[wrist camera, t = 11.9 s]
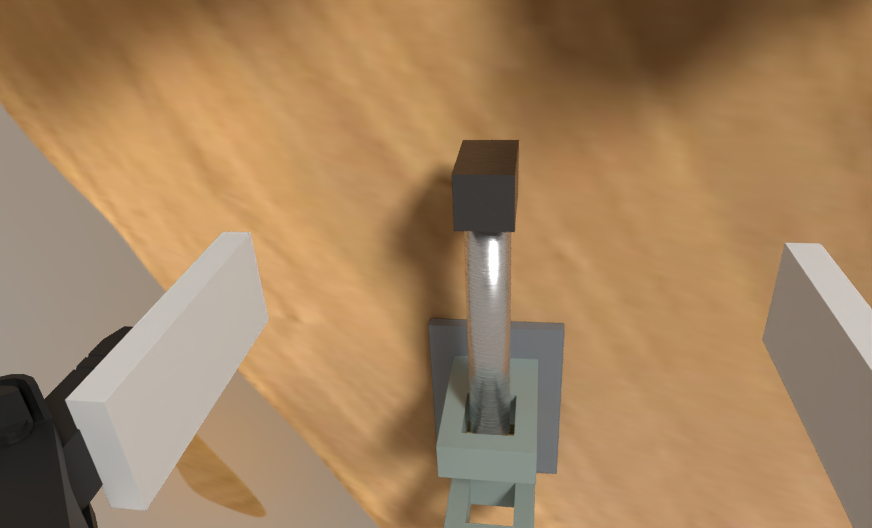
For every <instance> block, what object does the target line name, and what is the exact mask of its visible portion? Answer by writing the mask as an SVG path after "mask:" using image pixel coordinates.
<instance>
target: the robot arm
mask: <svg viewBox="0 0 872 528" xmlns="http://www.w3.org/2000/svg"><path fill="white" fill-rule="evenodd" d="M268 320H269V318H268V313H267V309H266V304H265V299H264V294H263V290H262V285H261V280H260V275H259V271H258V266H257V261H256V256H255V252H254V247H253V242H252V237H251V233H250V232H222V233H221V234H220V235H219V237H218V238H217V239H216V240H215V241H214V242H213V243H212V244H211V245H210V246H209V247H208V248H207V249H206V250H205V251H204V252H203V254H202V255H201V256H200V257H199V258H198V259H197V260H196V261H195V262H194V263H193V264H192V265H191V266H190V267H189V268H188V270H187V271H186V272H185V273H184V274H183V275H182V276H181V277H180V278H179V279H178V280H177V281H176V282H175V283H174V284H173V286H172V287H171V288H170V289H169V290H168V291H167V292H166V293H165V294H164V295H163V296H162V297H161V298H160V299H159V300H158V301H157V303H156V304H155V305H154V306H153V307H152V308H151V309H150V310H149V311H148V312H147V313H146V314H145V316H143V318H142V319H141V320H140V321H139V322H138V323H137V324H136V325H135V326H134V327H126V326H124V327H123V328H121V329H119V330H118V331H116V332H114V333H113V334H111V335H109V336H108V337H106V338H105V339H103V340H102V341H101V342H100V343H99V344H98V345H97V346H96V347H95V348H94V349H93V350H92V351H91V352H90V353H89V356H88V357H85V358H84V359H83V360H82V361H81V362H80V363H79V364H78V366H77V368H76V370H73V371H72V372H71V373H70V374H69V375H68V376H67V377H66V378H65V379H64V380H63V381H62V382H61V383H60V384H59V385H58V386H57V387H56V388H55V389H54V390H53V391H52V392H51V393H50V394H49V395H48V396H47V397H46V398H45V399H44V398H43V396H42V393H41V391H40V389H39V387H38V384H37V383H36V381H35V380H34V378H33V377H31V376H28V375H25V374H10V375H6V376H1V377H0V528H98V526H97V521H96V516H95V513H94V511H93V508H92V506H91V504H90V501H91V500H92V499H93V497H94V496H95V495H96V493H97V492H98V491H99V489H100V488H101V487H102V488H103V491H104V493H105V495H106V498H107V500H108V502H109V505H110V507H111V508H122V509H134V510H145V511H146V510H147V509H148V507H149V506H150V504H151V503H152V501H153V500H154V498H155V496H156V495H157V493H158V492H159V490H160V489H161V487H162V485H163V484H164V482H165V481H166V479H167V478H168V476H169V475H170V473H171V471H172V470H173V468H174V467H175V465H176V464H177V462H178V461H179V459H180V457H181V456H182V454H183V453H184V451H185V450H186V448H187V447H188V445H189V443H190V442H191V440H192V439H193V437H194V436H195V434H196V432H197V431H198V429H199V428H200V426H201V425H202V423H203V421H204V420H205V418H206V417H207V415H208V414H209V412H210V411H211V409H212V408H213V406H214V404H215V403H216V401H217V399H218V398H219V397H220V395H221V394H222V392H223V390H224V389H225V387H226V386H227V384H228V383H229V381H230V379H231V378H232V376H233V375H234V373H235V372H236V370H237V369H238V367H239V365H240V364H241V362H242V361H243V359H244V358H245V356H246V354H247V353H248V351H249V350H250V348H251V347H252V345H253V344H254V342H255V340H256V339H257V337H258V336H259V334H260V333H261V331H262V330H263V328H264V326H265V325H266V323H267V322H268ZM762 340H763V342H764V344H765V346H766V348H767V350H768V352H769V354H770V356H771V359H772V361H773V363H774V365H775V367H776V369H777V371H778V373H779V375H780V377H781V379H782V381H783V383H784V385H785V387H786V390H787V392H788V394H789V396H790V398H791V400H792V402H793V404H794V406H795V408H796V410H797V412H798V414H799V416H800V419H801V421H802V423H803V425H804V427H805V429H806V431H807V433H808V435H809V437H810V439H811V441H812V443H813V445H814V447H815V450H816V452H817V454H818V456H819V458H820V460H821V462H822V464H823V466H824V468H825V470H826V472H827V474H828V476H829V479H830V481H831V483H832V485H833V487H834V489H835V491H836V493H837V495H838V497H839V499H840V501H841V503H842V505H843V508H844V510H845V512H846V514H847V516H848V518H849V520H850V522H851V524H852V526H853V528H872V309H871V308H870V306H869V305H868V304H867V303H866V301H865V300H864V299H863V297H862V296H861V295H860V294H859V292H858V291H857V290H856V288H855V287H854V286H853V285H852V283H851V282H850V281H849V279H848V278H847V277H846V276H845V274H844V273H843V272H842V270H841V269H840V268H839V267H838V265H837V264H836V263H835V261H834V260H833V259H832V258H831V256H830V255H829V254H828V252H827V251H826V250H825V249H824V247H823V246H822V245H821V244H816V243H785V245H784V250H783V254H782V258H781V262H780V267H779V271H778V275H777V279H776V284H775V288H774V292H773V296H772V301H771V305H770V309H769V313H768V318H767V322H766V326H765V330H764V335H763V339H762Z"/></svg>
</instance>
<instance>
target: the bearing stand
mask: <svg viewBox="0 0 872 528" xmlns="http://www.w3.org/2000/svg"><path fill="white" fill-rule="evenodd" d="M428 326H429V341H430V355H431V370H432V385H433V399H434V414H435V429H436V443H437V445H436V451H437V465H438V477H445V478H452V479H451V486H450V492H449V498H448V505H447V511H446V517H445V524H444V528H534V501H535V484H536V472H537V473H551V474H557V457H558V439H559V421H560V402H561V384H562V365H563V347H564V323H538V322H512V321H511V359H510V424H513V425H515V432H514V436H502V435H486V434H471V433H467V428H468V422H470V397H469V367H468V337H467V320H460V319H434V318H430V321H429V325H428ZM471 504H477V505H490V506H502V507H514V524H513V527H512V526H500V525H489V524H477V523H469V519H470V510H471Z"/></svg>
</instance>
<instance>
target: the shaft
mask: <svg viewBox="0 0 872 528" xmlns="http://www.w3.org/2000/svg"><path fill="white" fill-rule="evenodd" d="M518 159H519V140H463V142H462V145H461V148H460V151H459V154H458V157H457V160H456V163H455V166H454V169H453V172H452V192H453V216H454V231H464V247H465V277H466V307H467V337H468V367H469V397H470V427H471V433H472V434H486V435H502V436H508V435H509V432H510V359H511V232H515V222H516V211H517V199H518Z"/></svg>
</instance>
